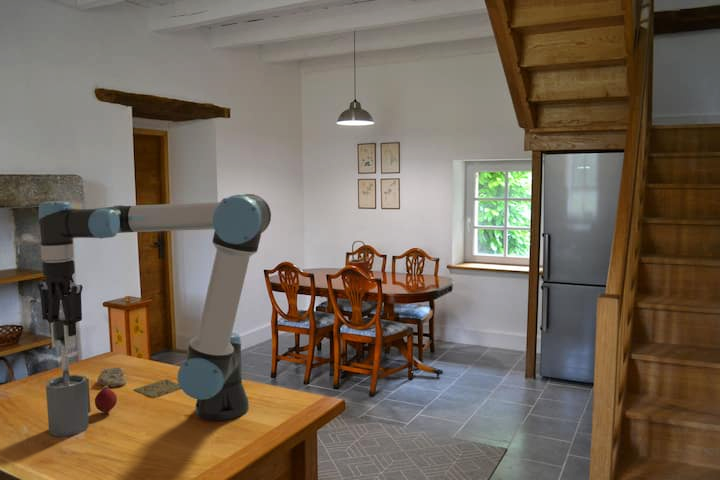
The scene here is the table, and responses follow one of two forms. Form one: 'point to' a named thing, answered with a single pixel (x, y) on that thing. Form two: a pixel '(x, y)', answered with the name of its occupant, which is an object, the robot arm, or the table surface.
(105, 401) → the onion
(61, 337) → the plunger
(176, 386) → the grey porous flat square
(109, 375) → the rock
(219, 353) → the robot arm
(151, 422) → the table surface
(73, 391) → the press carafe
